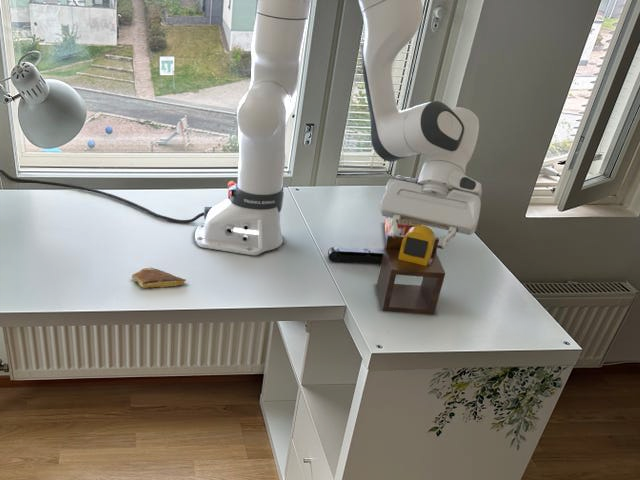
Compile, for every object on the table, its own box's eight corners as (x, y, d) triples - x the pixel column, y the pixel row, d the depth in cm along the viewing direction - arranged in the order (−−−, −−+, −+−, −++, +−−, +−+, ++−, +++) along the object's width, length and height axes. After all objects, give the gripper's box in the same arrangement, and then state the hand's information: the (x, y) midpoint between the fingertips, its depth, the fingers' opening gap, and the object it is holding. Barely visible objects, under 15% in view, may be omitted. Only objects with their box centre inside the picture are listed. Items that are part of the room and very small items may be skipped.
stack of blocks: (383, 223, 188) (392, 179, 181) (407, 225, 187) (417, 182, 180) (387, 258, 171) (397, 211, 164) (413, 260, 170) (424, 214, 163)
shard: (186, 285, 158) (186, 278, 157) (166, 298, 152) (166, 291, 151) (149, 271, 163) (149, 264, 162) (128, 283, 158) (128, 276, 157)
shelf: (382, 310, 150) (394, 256, 143) (376, 286, 159) (387, 234, 152) (434, 314, 149) (449, 260, 142) (425, 289, 158) (438, 237, 151)
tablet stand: (327, 261, 169) (329, 250, 167) (326, 257, 171) (328, 246, 169) (401, 265, 168) (404, 254, 166) (399, 261, 170) (402, 250, 168)
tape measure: (397, 259, 148) (404, 228, 144) (402, 252, 151) (409, 221, 147) (428, 267, 146) (437, 235, 142) (433, 259, 149) (441, 228, 144)
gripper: (390, 167, 148) (368, 225, 147) (489, 186, 140) (467, 247, 139) (391, 180, 154) (370, 237, 153) (487, 199, 146) (466, 259, 145)
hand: (417, 242), depth 146 cm, fingers open, 8 cm apart
